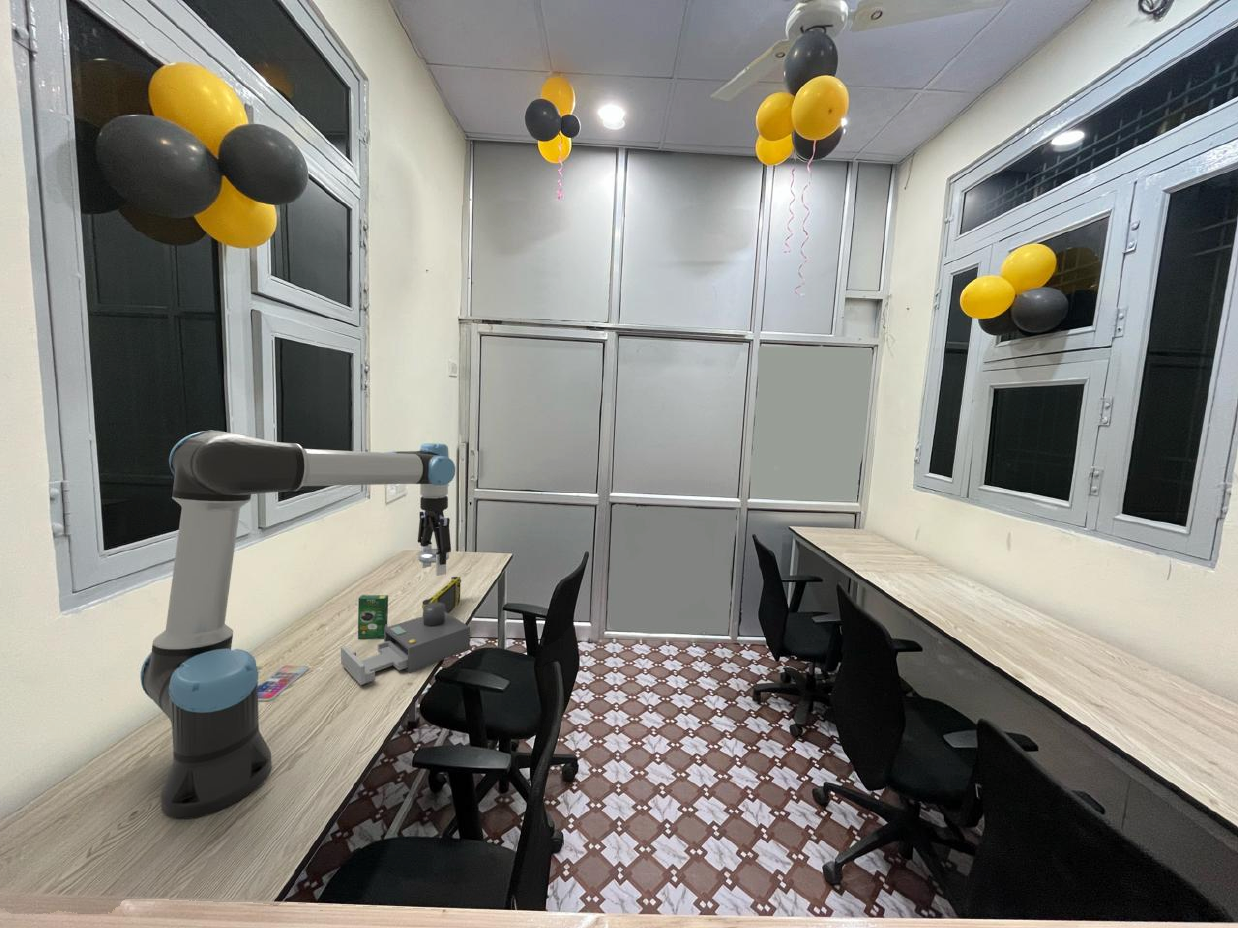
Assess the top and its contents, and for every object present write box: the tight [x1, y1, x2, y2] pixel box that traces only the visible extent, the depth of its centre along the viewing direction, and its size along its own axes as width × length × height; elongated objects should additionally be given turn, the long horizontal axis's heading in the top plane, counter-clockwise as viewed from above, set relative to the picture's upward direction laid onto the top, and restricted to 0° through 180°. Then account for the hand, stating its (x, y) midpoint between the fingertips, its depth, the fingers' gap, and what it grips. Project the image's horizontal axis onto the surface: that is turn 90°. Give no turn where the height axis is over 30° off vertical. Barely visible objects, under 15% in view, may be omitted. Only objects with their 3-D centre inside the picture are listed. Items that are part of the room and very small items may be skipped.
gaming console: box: [421, 576, 462, 614], centre depth 156 cm, size 26×4×10 cm, turn 178°
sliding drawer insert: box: [340, 640, 408, 686], centre depth 123 cm, size 17×14×5 cm
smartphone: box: [258, 665, 310, 703], centre depth 114 cm, size 7×1×15 cm
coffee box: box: [357, 594, 389, 640], centre depth 138 cm, size 8×3×13 cm, turn 99°
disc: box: [417, 548, 450, 564], centre depth 133 cm, size 8×8×2 cm
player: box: [383, 602, 471, 674], centre depth 132 cm, size 18×16×12 cm
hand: (433, 570), depth 134 cm, fingers closed on disc, 8 cm apart
